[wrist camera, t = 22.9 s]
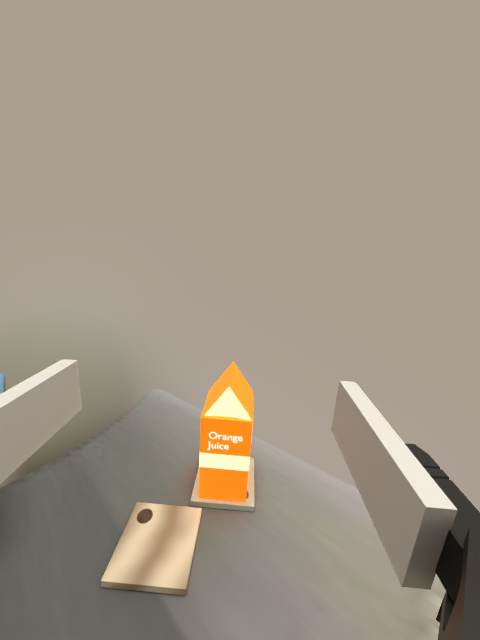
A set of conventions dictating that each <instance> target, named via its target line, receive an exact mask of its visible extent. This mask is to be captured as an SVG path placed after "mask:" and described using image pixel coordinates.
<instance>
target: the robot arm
mask: <svg viewBox="0 0 480 640" xmlns="http://www.w3.org/2000/svg"><path fill="white" fill-rule="evenodd" d="M81 409H82V402H81V392H80V382H79V372H78V361H77V360H65V359H63V360H60V361H59V362H57V363H55V364H54V365H52V366H50V367H48V368H46V369H44V370H43V371H41V372H39V373H37V374H36V375H34V376H32V377H30V378H29V379H27V380H25V381H23V382H21V383H20V384H18V385H16V386H14V387H12V388H11V389H9V390H7V391H6V389H5V376H4V374H3V373H1V372H0V483H2V482H3V481H4V480H5V479H6V478H7V477H8V476H9V475H10V474H12V473H13V472H14V471H15V470H16V469H17V468H18V467H19V466H20V465H21V464H22V463H23V462H25V461H26V460H27V459H28V458H29V457H30V456H31V455H32V454H33V453H34V452H36V450H38V449H39V448H40V447H41V446H42V445H43V444H44V443H45V442H46V441H48V440H49V439H50V438H51V437H52V436H53V435H54V434H55V433H56V432H57V431H58V430H59V429H60V428H62V427H63V426H64V425H65V424H66V423H67V422H68V421H69V420H70V419H71V418H73V417H74V416H75V415H76V414H77V413H78V412H79V411H80V410H81ZM331 430H332V432H333V434H334V437H335V439H336V441H337V443H338V445H339V448H340V450H341V452H342V454H343V456H344V459H345V461H346V463H347V466H348V468H349V470H350V472H351V475H352V477H353V479H354V481H355V483H356V486H357V488H358V490H359V492H360V495H361V497H362V499H363V501H364V503H365V506H366V508H367V510H368V512H369V515H370V517H371V519H372V521H373V523H374V526H375V528H376V530H377V532H378V535H379V537H380V539H381V541H382V543H383V546H384V548H385V550H386V552H387V555H388V557H389V559H390V561H391V564H392V566H393V568H394V570H395V572H396V575H397V577H398V579H399V581H400V584H401V586H402V587H411V588H421V589H431V586H432V583H433V580H434V577H435V574H437V575H438V577H439V579H440V581H441V582H442V584H443V586H444V588H445V589H446V593H445V596H444V598H443V601H442V604H441V607H440V609H439V612H438V615H437V618H436V620H437V621H438V622H440V627H439V634H438V640H480V513H479V511H478V510H477V509H476V508H475V507H474V506H473V505H472V503H471V502H470V501H469V500H468V499H467V498H466V496H465V495H464V494H463V493H462V492H461V491H460V490H459V489H458V487H457V486H456V485H455V484H454V483H453V482H452V481H451V480H449V477H448V476H447V475H446V474H445V473H444V471H442V470H440V467H439V466H438V465H437V463H436V462H435V461H434V460H433V459H432V458H431V457H430V456H429V455H428V454H427V453H426V452H424V451H423V450H422V449H420V448H419V447H417V446H416V445H414V444H405V443H404V442H403V441H402V440H401V439H400V437H399V436H398V435H397V434H396V432H395V431H394V430H393V429H392V427H391V426H390V425H389V424H388V422H387V421H386V420H385V419H384V417H383V416H382V415H381V414H380V412H379V411H378V410H377V409H376V407H375V406H374V405H373V404H372V402H371V401H370V400H369V399H368V397H367V396H366V395H365V394H364V392H363V391H362V390H361V389H360V387H359V386H358V385H357V384H356V382H348V381H339V387H338V393H337V398H336V404H335V411H334V416H333V422H332V427H331Z"/></svg>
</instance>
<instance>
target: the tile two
mask: <svg viewBox="0 0 480 640" xmlns="http://www.w3.org/2000/svg"><path fill="white" fill-rule="evenodd" d="M190 506H195V507H206V508H217V509H228V510H239V511H250V512H254V458H250V462H249V471H248V482H247V494H246V502H235V501H224V500H214V499H203V498H199V468H198V472H197V476H196V480H195V484H194V488H193V492H192V496H191V500H190Z"/></svg>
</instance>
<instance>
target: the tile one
mask: <svg viewBox="0 0 480 640" xmlns="http://www.w3.org/2000/svg"><path fill="white" fill-rule="evenodd" d="M201 515H202V508H195V507H184V506H173V505H162V504H151V503H140V502H137V504H136V506H135V508H134V510H133V512H132V514H131V517H130V519H129V521H128V523H127V525H126V527H125V530H124V532H123V534H122V536H121V538H120V540H119V543H118V545H117V547H116V549H115V551H114V553H113V556H112V558H111V560H110V562H109V564H108V567H107V569H106V571H105V573H104V575H103V577H102V580H101V587H106V588H116V589H126V590H136V591H146V592H156V593H166V594H176V595H186V593H187V587H188V582H189V577H190V572H191V567H192V561H193V556H194V551H195V546H196V541H197V535H198V530H199V525H200V520H201Z"/></svg>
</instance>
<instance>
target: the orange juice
mask: <svg viewBox="0 0 480 640" xmlns="http://www.w3.org/2000/svg"><path fill="white" fill-rule="evenodd" d="M253 398H254V392H253V391H252V389H251V388H250V386H249V385H248V383H247V382H246V380H245V378H244V377H243V376H242V374H241V372H240V371H239V369H238V368H237V366H236V365H235V363H234V362H233V363H232V364H231V366H230V367H229V368H228V369H227V370H226V371H225V372H224V374H223V375H222V376H221V377H220V378H219V379H218V381H217V382H216V383H215V384H214V385H213V386H212V388H210V391H209V394H208V397H207V400H206V403H205V406H204V410H203V413H202V416H201V434H200V457H199V498H203V499H214V500H224V501H235V502H246V494H247V482H248V471H249V462H250V448H251V443H252V442H251V436H252V424H253V423H254V422H253V421H254V410H253V409H254V399H253Z"/></svg>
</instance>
